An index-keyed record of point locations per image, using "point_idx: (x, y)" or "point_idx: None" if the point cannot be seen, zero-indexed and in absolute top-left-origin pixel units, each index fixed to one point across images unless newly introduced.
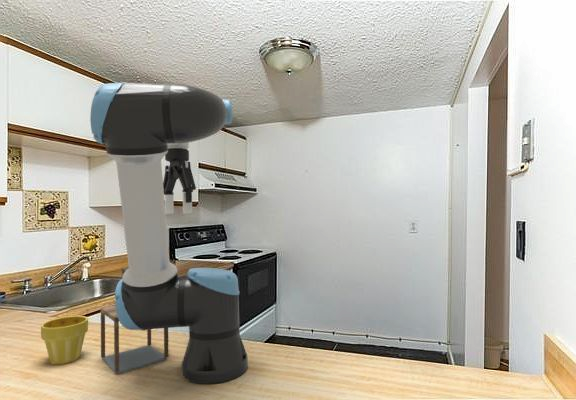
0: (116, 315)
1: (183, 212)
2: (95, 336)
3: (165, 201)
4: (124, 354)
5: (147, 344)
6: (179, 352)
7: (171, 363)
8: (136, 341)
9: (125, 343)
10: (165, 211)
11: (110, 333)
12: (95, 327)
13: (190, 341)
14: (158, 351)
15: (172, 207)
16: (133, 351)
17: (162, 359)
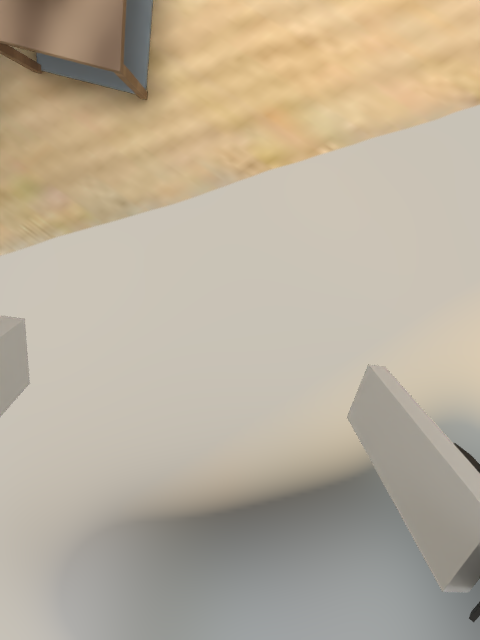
0: None
1: (10, 321)
2: (330, 55)
3: (443, 445)
4: (129, 13)
5: (146, 91)
6: (58, 117)
7: (8, 60)
8: (205, 100)
9: (215, 74)
10: (389, 377)
11: (317, 95)
12: (397, 99)
13: None
14: (86, 80)
15: (372, 448)
16: (132, 41)
17: (37, 58)
